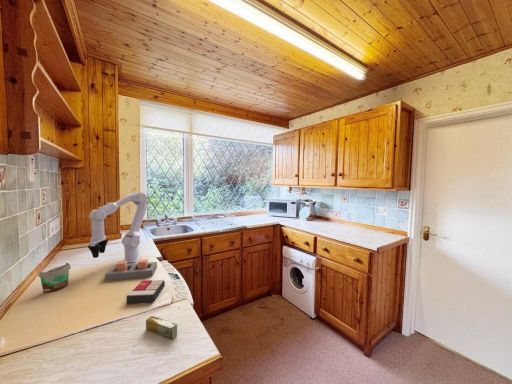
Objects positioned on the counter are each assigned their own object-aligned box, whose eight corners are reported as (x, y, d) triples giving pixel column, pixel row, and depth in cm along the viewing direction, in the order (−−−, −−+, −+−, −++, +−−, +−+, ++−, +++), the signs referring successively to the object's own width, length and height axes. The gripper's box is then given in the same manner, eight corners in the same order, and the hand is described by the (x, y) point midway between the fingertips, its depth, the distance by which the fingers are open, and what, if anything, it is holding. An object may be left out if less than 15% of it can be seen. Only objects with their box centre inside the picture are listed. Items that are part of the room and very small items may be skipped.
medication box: (177, 335, 72) (177, 323, 72) (171, 340, 69) (171, 328, 69) (151, 325, 77) (151, 315, 76) (145, 330, 74) (145, 319, 74)
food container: (50, 295, 95) (48, 273, 95) (39, 294, 97) (38, 272, 96) (78, 282, 107) (77, 263, 107) (68, 281, 109) (67, 262, 108)
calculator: (165, 278, 105) (153, 293, 90) (165, 287, 105) (153, 303, 90) (141, 279, 104) (126, 294, 89) (141, 288, 104) (126, 305, 89)
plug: (119, 271, 118) (119, 261, 117) (127, 271, 119) (127, 260, 118) (116, 275, 114) (116, 264, 113) (125, 274, 115) (124, 263, 114)
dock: (114, 271, 121) (114, 259, 120) (157, 267, 126) (156, 255, 126) (105, 281, 109) (104, 267, 109) (152, 276, 114) (151, 263, 114)
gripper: (96, 228, 125) (96, 251, 126) (82, 234, 111) (83, 260, 112) (109, 228, 127) (110, 250, 127) (98, 234, 113) (99, 259, 113)
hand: (99, 255), depth 120 cm, fingers open, 7 cm apart
